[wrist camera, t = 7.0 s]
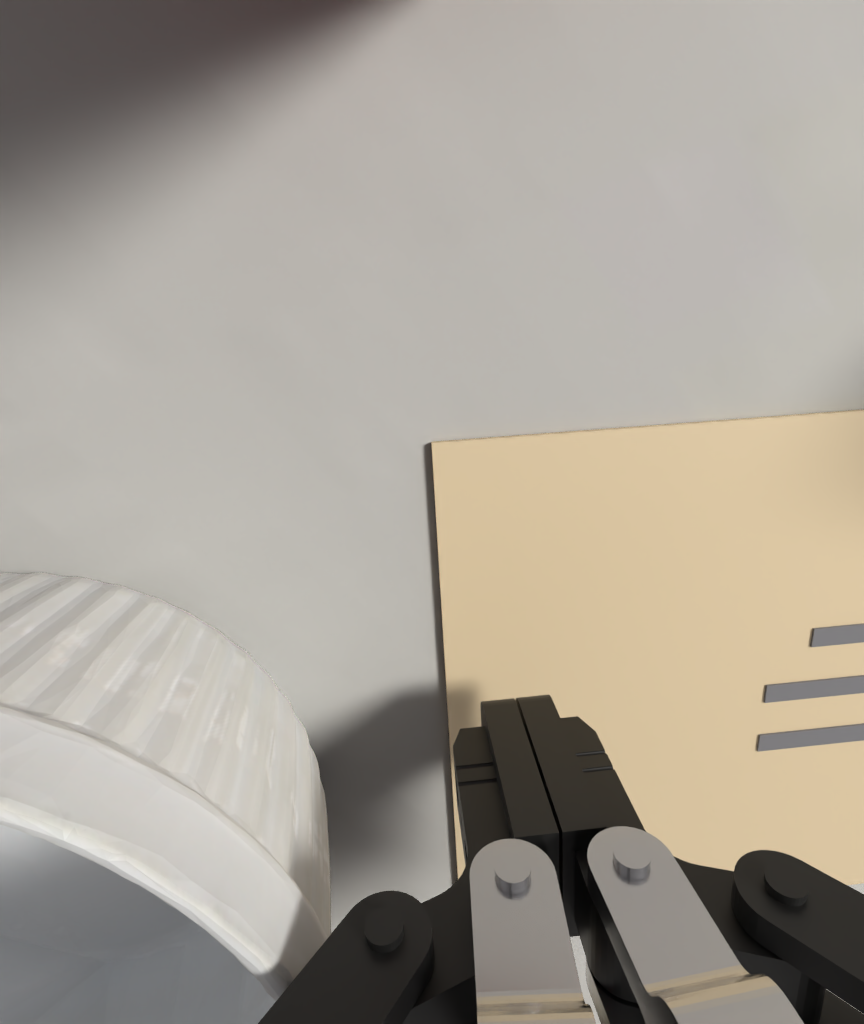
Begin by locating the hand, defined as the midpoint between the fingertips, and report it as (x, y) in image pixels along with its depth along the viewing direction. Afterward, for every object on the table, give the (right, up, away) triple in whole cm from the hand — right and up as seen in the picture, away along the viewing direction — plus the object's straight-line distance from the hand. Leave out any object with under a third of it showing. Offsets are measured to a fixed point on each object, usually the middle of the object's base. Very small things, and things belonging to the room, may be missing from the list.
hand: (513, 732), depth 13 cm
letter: (+8, 0, +2) cm, 8 cm away
